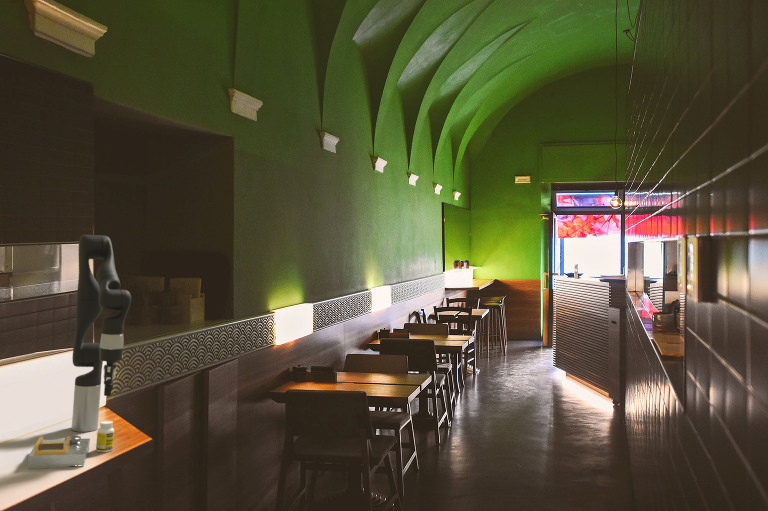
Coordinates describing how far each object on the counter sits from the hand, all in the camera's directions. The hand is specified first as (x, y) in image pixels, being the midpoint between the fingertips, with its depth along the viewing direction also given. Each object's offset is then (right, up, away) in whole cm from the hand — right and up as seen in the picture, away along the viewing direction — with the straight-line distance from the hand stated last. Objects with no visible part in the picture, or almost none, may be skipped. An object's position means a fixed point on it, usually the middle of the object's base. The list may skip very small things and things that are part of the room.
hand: (108, 392), depth 223 cm
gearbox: (-11, -19, -12) cm, 25 cm away
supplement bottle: (-1, -20, 0) cm, 20 cm away
